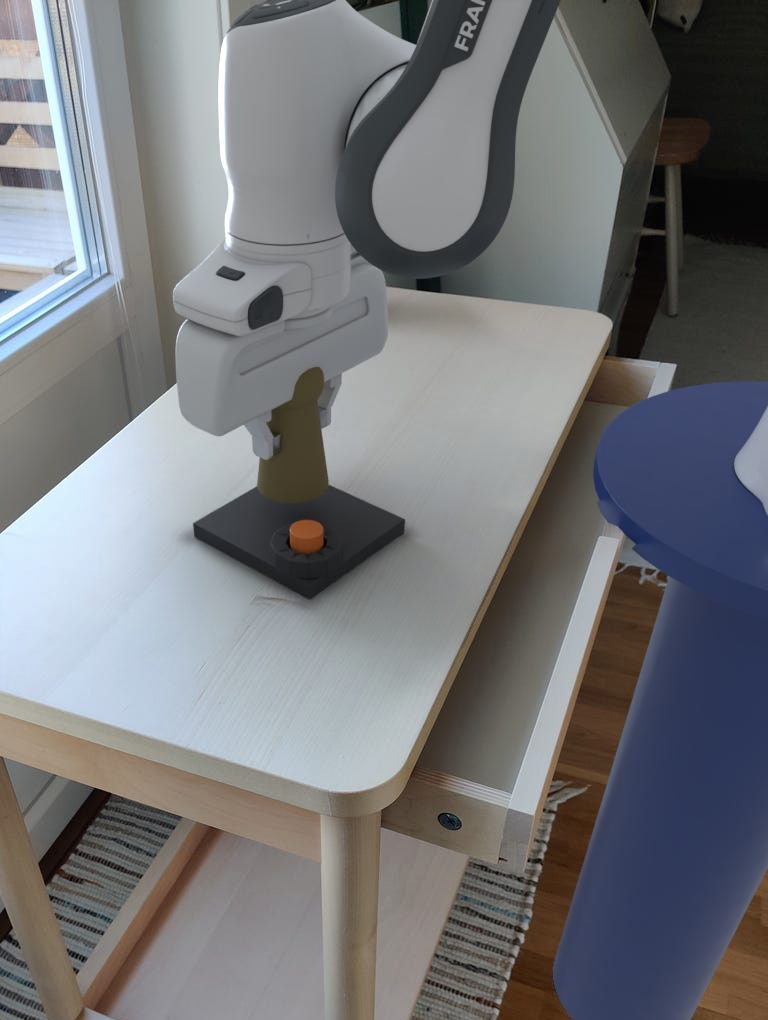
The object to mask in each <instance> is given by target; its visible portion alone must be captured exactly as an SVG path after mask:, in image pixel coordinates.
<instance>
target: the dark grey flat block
mask: <svg viewBox="0 0 768 1020" xmlns="http://www.w3.org/2000/svg"><path fill="white" fill-rule="evenodd" d="M301 520H313V521H316V522H318V523H320V524H321V525H322V526H323V529H324V532H323V548H322V549H321V550H320V551H319V552H315V553H310V554H304V553H297V552H295V551H293V550H292V549H291V547H290V527H291V526H292V524H294V523H295V522H297V521H301ZM192 527H193V528H192V529H193V536H194V537H193V538H196V539H197V540H199V541H201V542H203V543H205V544H207V545H209V546H210V547H212V548H214V549H216V550H218V551H220V552H222V553H223V554H225V555H227V556H229V557H231V558H233V559H235V560H236V561H238V562H240V563H242V564H243V565H245V566H247V567H249V568H251V569H253V570H255V571H256V572H258V573H260V574H262V575H264V576H265V577H268V578H269V579H271V580H273V581H274V582H277V583H279V584H280V585H283V586H284V587H286V588H287V589H290V590H291V591H293V592H295V593H297V594H299V595H301V596H302V597H304V598H306V599H308V600H311V599H312V598H314V597H315V596H317V595H318V594H320V593H321V592H323V591H324V590H325V589H327V588H328V587H330V586H331V585H333V584H334V583H335V582H336V581H338V580H340V579H341V578H343V577H344V576H345V575H347V574H348V573H349V572H351V571H352V570H353V569H355V568H357V567H358V566H360V565H361V564H362V563H364V562H366V561H367V560H368V559H369V558H371V557H372V556H374V555H375V554H376V553H378V552H379V551H381V550H382V549H383V548H385V547H386V546H388V545H390V544H391V543H392V542H393V541H395V540H396V539H398V538H399V537H401V536H402V535H403V534H405V528H406V519H405V518H404V517H401V516H399V515H397V514H395V513H392V512H390V511H389V510H388V511H387V510H386V509H384V508H381V507H379V506H376V505H375V504H373V503H370V502H368V501H365V500H364V499H361V498H359V497H357V496H355V495H353V494H350V493H348V492H346V491H344V490H342V489H340V488H337V487H335V486H333V485H331V484H329V487H328V489H327V490H326V492H325V493H324V494H322V495H321V496H320V497H318V498H316V499H313V500H310V501H307V502H301V503H282V502H277V501H273V500H271V499H269V498H266V497H265V496H264V495H262V494H261V493H260V492H259V490H258V488H257V485H256V486H254V487H253V488H251V489H249V490H248V491H246V492H245V493H243V494H241V495H239V496H238V497H235V498H233V499H232V500H230V501H228V502H227V503H225V504H224V505H222V506H220V507H218V508H217V509H215V510H213V511H211V512H210V513H208V514H206V515H204V516H203V517H201V518H199V519H197V520H196V521H194V522H193V523H192Z"/></svg>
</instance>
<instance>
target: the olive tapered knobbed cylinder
mask: <svg viewBox="0 0 768 1020" xmlns="http://www.w3.org/2000/svg"><path fill="white" fill-rule="evenodd" d="M323 388H324V374H323V371H322V369H321V368H320V367H313V368H310V369H308V370H306V371H305V372H304V373H302V374H301V375H300V377H299V378H298V380H297V382H296V384H295V388H294V393H293V397H292V399H291V400H290V401H288V402H286V403H284V404H282V405H280V406H278V407H276V408H274V409H273V410H271V418H272V419H271V421H269V422H266V424H267V426H268V428H269V429H270V430H271V432H276V433H279V434H281V444H280V446H281V452H280V453H278V454H277V455H275V456H273V457H271V458H270V459H268V460H265V459H262V458H260V457H259V460H258V470H257V471H258V472H257V481H256V486H257V488H258V490H259V492H260V493H261V494H262V495H264V496H265V497H266V498H269V499H271V500H273V501H277V502H282V503H301V502H307V501H310V500H313V499H316V498H318V497H320V496H321V495H322V494H324V493H325V492H326V490H327V489H328V487H329V485H330V484H329V483H330V480H329V474H328V468H327V460H326V453H325V452H326V451H325V444H324V438H323V429H321V423H320V416H319V409H318V401H317V400H318V398H319V397H320V396H321V394H322V392H323Z"/></svg>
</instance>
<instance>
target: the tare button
mask: <svg viewBox="0 0 768 1020" xmlns="http://www.w3.org/2000/svg"><path fill="white" fill-rule="evenodd" d="M323 532H324V529H323V526H322V525H321V524H320V523H318V522H316V521H313V520H301V521H297V522H295V523H294V524H292V526H291V527H290V547H291V549H292V550H293V551H295V552H297V553H304V554H310V553H315V552H319V551H320V550H321V549H322V548H323Z"/></svg>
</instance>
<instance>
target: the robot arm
mask: <svg viewBox="0 0 768 1020" xmlns="http://www.w3.org/2000/svg"><path fill="white" fill-rule="evenodd" d="M560 3H561V0H431V1H430V5H429V8H428V11H427V13H426V16H425V20H424V22H423V25H422V28H421V31H420V33H419V37H418V39H417V43H415V44H414V43H412V42H409V41H407V40H405V39H403V38H401V37H398V36H397V35H394V34H392V33H391V32H389V31H387V30H385V29H383V28H382V27H380V26H378V25H377V24H376V23H374V22H372V21H371V20H369V19H368V18H366V17H365V16H364V15H362V14H361V13H359V12H358V11H357V10H356V9H354V8H353V7H352V5H350V3H349V2H348V1H347V0H264V1H263V2H261V3H258V4H254V5H252V6H251V7H249V8H248V9H246V10H245V11H244V12H242V13H241V14H240V15H239V16H238V17H237V18H236V19H235V20H234V21H233V22H232V24H231V25H230V26H229V28H228V30H227V32H225V35H224V37H223V39H222V43H221V48H220V55H219V65H218V81H217V82H218V84H217V85H218V86H217V87H218V89H217V90H218V91H217V92H218V93H217V94H218V95H217V100H218V101H217V104H218V105H217V106H218V108H217V109H218V136H219V137H218V138H219V154H220V155H219V156H220V161H221V165H222V169H223V172H224V175H225V178H226V183H227V191H228V193H227V195H228V196H227V204H226V210H225V214H224V237H225V238H224V239H223V240H222V241H221V242H219V243H218V244H217V245H216V247H215V248H214V249H213V250H212V251H211V252H210V253H209V254H208V255H207V257H205V258H204V260H203V261H202V262H200V263H199V264H198V265H197V266H196V267H195V268H193V270H191V271H190V272H189V273H188V274H187V275H186V276H184V277H183V278H182V279H181V280H180V281H179V282H178V283H177V284H176V285H175V287H174V288H173V291H172V303H173V309H174V311H175V312H176V314H178V315H180V316H181V317H183V318H185V319H186V320H184V322H183V323H182V324H181V326H180V327H179V330H178V333H177V336H176V341H175V377H176V391H177V400H178V406H179V411H180V413H181V416H182V418H183V419H185V421H186V422H187V423H189V424H190V426H193V427H194V428H196V429H199V430H200V431H202V432H205V433H208V434H209V435H212V436H214V437H222V436H223V437H224V436H225V435H227V434H229V433H231V432H232V431H235V430H236V429H238V428H240V427H242V426H244V427H245V429H246V430H247V432H248V433H249V434H250V435H251V443H252V451H253V454H254V455H255V456H256V457H258V458H259V459H260V458H262V459H265V460H268V459H270V458H271V457H273V456H275V455H277V454H278V453H280V452H281V446H280V444H281V434H279V433H276V432H271V430H270V429H269V428H268V426H267V424H266V422H269V421H271V419H272V418H271V410H273V409H274V408H276V407H278V406H280V405H282V404H284V403H286V402H288V401H290V400H291V399H292V397H293V393H294V388H295V384H296V382H297V380H298V378H299V377H300V375H301V374H302V373H304V372H305V371H306V370H308V369H310V368H313V367H320V368H321V369H322V371H323V374H324V388H323V392H322V394H321V396H320V397H319V398H318V400H317V401H318V409H319V416H320V423H321V430H323V429H324V428H327V427H328V426H330V425H331V423H332V407H333V405H334V404H335V400H336V398H337V395H338V393H339V391H340V388H341V386H342V383H343V381H342V379H343V374H344V373H345V372H347V371H349V370H351V369H353V368H355V367H356V366H359V365H361V364H362V363H364V362H367V361H369V360H370V359H373V358H374V357H376V356H379V354H381V353H382V351H383V349H384V347H385V345H386V343H387V340H388V337H389V308H388V307H389V306H388V294H387V292H388V291H387V283H386V279H385V275H384V273H386V274H389V275H392V276H396V277H398V278H399V277H400V278H405V279H413V280H414V279H415V280H425V279H432V278H440V277H442V276H445V275H446V276H447V275H449V274H451V273H454V272H456V271H458V270H460V269H463V268H464V267H465V266H467V265H469V264H471V263H472V262H473V261H474V260H476V259H477V258H478V257H479V256H481V255H482V254H483V253H484V252H485V251H486V250H487V249H488V248H489V247H490V246H491V244H492V243H493V242H494V241H495V239H496V238H497V236H498V235H499V233H500V232H501V230H502V229H503V226H504V224H505V222H506V219H507V217H508V215H509V211H510V209H511V205H512V201H513V195H514V188H515V177H516V175H515V174H516V145H517V144H516V140H517V131H518V122H519V115H520V111H521V106H522V103H523V99H524V95H525V92H526V90H527V86H528V84H529V81H530V79H531V76H532V73H533V70H534V68H535V65H536V63H537V61H538V58H539V55H540V53H541V50H542V48H543V46H544V43H545V40H546V38H547V35H548V33H549V30H550V29H551V26H552V24H553V20H554V19H555V16H556V13H557V10H558V9H559V6H560ZM734 468H735V472H736V474H737V476H738V478H739V480H740V481H741V482H742V483H743V485H744V486H745V487H746V488H747V489H748V490H749V491H751V492H752V493H753V494H754V495H755V496H756V497H757V498H758V499H759V500H760V501H761V502H762V504H763V507H764V509H765V512H766V514H767V516H768V406H767V408H766V410H765V412H764V414H763V416H762V417H761V419H760V421H759V423H758V425H757V426H756V428H755V430H754V431H753V433H752V434H751V436H750V438H749V439H748V440H747V442H746V443H745V445H744V446H743V447H742V449H741V450H740V451H739V453H738V454H737V456H736V458H735V461H734Z"/></svg>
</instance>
